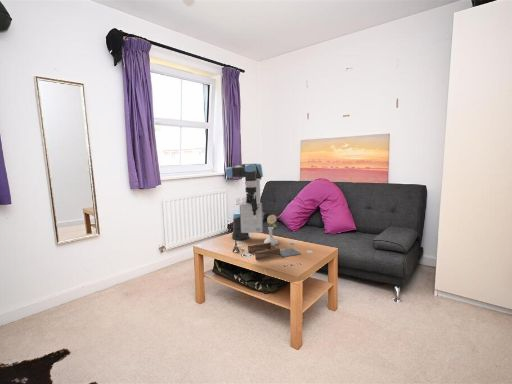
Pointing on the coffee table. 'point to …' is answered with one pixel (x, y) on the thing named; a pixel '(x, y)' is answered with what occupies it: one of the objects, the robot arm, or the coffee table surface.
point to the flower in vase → (271, 220)
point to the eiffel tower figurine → (237, 247)
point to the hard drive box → (251, 218)
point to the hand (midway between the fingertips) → (251, 218)
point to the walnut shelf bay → (264, 254)
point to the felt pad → (289, 252)
